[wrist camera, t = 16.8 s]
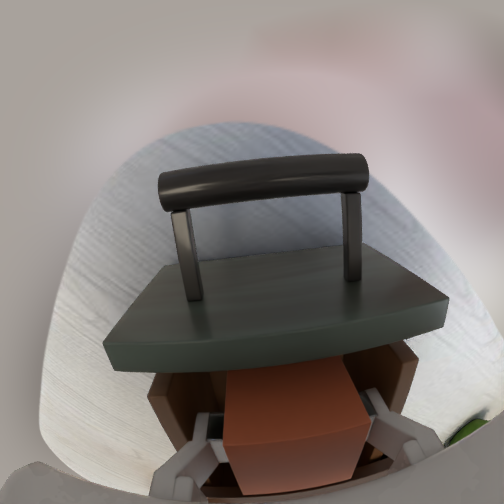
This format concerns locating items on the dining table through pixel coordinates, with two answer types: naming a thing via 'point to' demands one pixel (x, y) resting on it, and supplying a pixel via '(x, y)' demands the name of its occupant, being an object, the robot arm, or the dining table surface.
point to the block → (293, 426)
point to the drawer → (271, 300)
